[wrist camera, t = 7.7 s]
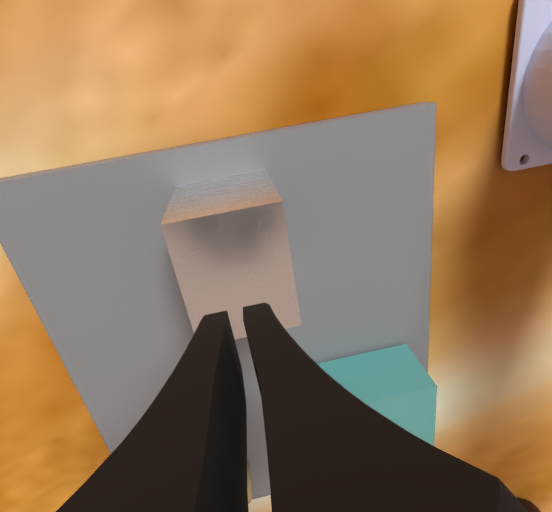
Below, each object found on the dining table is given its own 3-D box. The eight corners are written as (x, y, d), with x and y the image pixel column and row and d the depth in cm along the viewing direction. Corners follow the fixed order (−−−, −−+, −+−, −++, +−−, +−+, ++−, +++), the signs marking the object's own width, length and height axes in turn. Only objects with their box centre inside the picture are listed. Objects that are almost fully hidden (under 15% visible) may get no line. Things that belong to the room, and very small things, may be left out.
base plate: (425, 101, 17) (470, 105, 14) (418, 445, 28) (443, 491, 25) (-16, 181, 16) (-72, 204, 13) (150, 509, 26) (141, 566, 23)
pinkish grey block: (265, 169, 17) (282, 201, 12) (281, 267, 19) (301, 325, 14) (176, 186, 16) (159, 224, 12) (203, 283, 19) (198, 347, 14)
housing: (406, 343, 22) (436, 386, 19) (406, 455, 26) (431, 504, 23) (289, 369, 21) (301, 417, 18) (309, 478, 26) (321, 532, 23)
